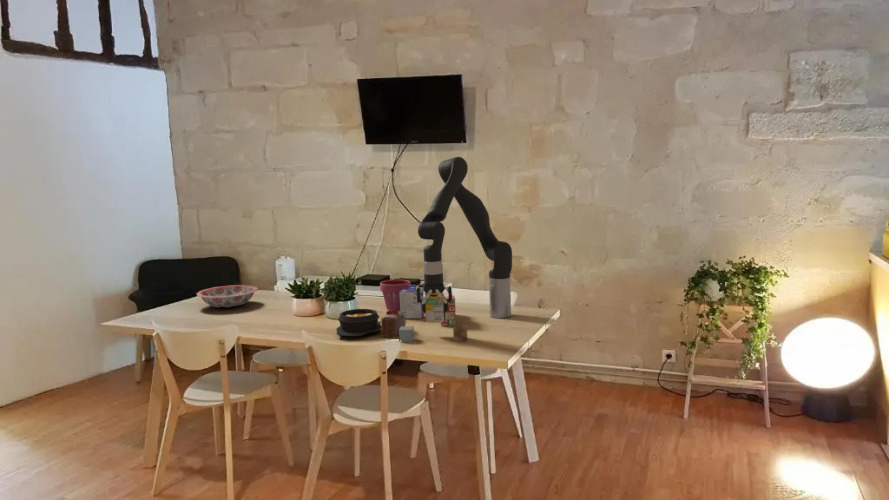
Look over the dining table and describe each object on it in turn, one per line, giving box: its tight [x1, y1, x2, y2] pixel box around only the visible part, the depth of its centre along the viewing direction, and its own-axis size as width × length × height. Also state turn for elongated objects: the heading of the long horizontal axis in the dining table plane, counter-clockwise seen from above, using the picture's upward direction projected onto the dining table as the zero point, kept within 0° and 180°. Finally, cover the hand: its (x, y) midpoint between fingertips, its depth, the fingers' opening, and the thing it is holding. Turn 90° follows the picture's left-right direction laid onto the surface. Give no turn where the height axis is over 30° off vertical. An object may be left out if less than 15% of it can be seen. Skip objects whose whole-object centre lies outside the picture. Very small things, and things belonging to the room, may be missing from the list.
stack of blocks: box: [440, 291, 457, 328], centre depth 298 cm, size 21×6×12 cm, turn 4°
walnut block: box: [453, 325, 468, 342], centre depth 267 cm, size 5×5×5 cm
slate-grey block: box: [398, 325, 415, 343], centre depth 268 cm, size 5×5×5 cm
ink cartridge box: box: [399, 284, 425, 319], centre depth 305 cm, size 10×6×14 cm, turn 78°
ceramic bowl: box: [196, 284, 259, 308], centre depth 342 cm, size 29×29×8 cm
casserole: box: [335, 308, 381, 337], centre depth 283 cm, size 25×19×8 cm
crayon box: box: [424, 292, 445, 323], centre depth 273 cm, size 7×3×12 cm, turn 79°
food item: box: [380, 310, 407, 338], centre depth 279 cm, size 14×8×10 cm, turn 170°
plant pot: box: [379, 279, 412, 311], centre depth 324 cm, size 14×14×13 cm
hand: (435, 312), depth 273 cm, fingers closed on crayon box, 7 cm apart
